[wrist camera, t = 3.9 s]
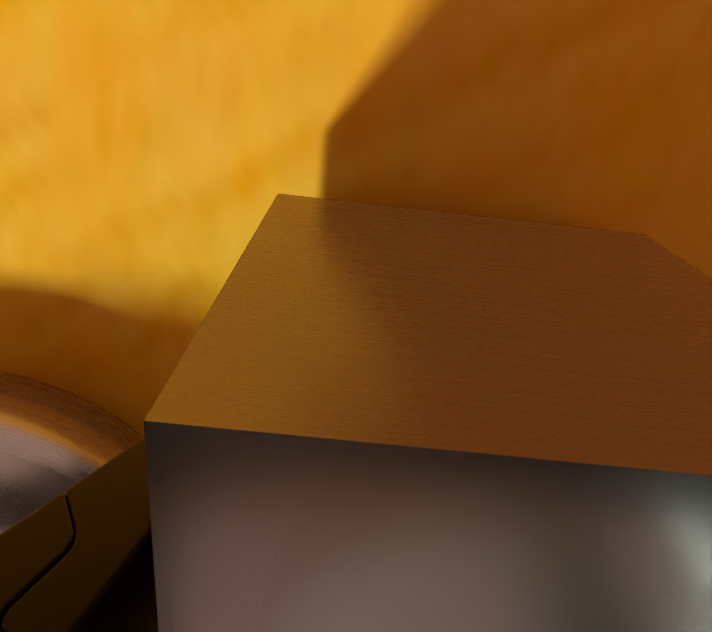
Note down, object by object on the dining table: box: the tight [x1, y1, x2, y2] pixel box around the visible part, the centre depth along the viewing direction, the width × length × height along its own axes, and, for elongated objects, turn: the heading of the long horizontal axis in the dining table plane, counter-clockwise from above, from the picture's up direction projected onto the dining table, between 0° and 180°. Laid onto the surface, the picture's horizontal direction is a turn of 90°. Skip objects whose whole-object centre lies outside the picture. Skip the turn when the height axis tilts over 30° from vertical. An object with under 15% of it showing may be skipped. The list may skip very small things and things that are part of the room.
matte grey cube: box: [144, 194, 712, 632], centre depth 8 cm, size 6×6×6 cm
